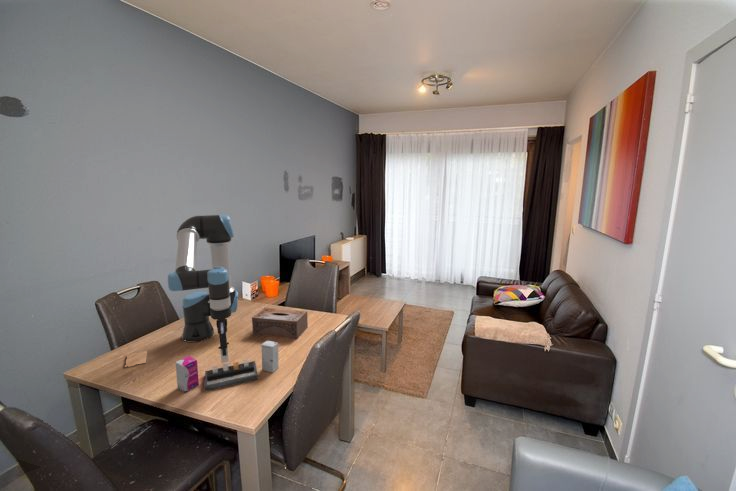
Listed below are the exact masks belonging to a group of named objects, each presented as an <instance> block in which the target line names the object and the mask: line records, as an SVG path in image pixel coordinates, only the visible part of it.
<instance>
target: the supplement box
mask: <svg viewBox="0 0 736 491" xmlns="http://www.w3.org/2000/svg"><path fill="white" fill-rule="evenodd" d="M175 373H176V384H177V385H176V386H177V389H178V388H179V390H180V389H181V390H180V391H182V390H183V391H184V392H183V391H182V392H183V393H187V392H189V391H190V389H191V390H193V389H195V388H196V386H197V387H199V386H198V385H200V380H199V370H198V360H197V359H195V358H193V357H192V356H190V355H188V356H186V357H184V358H181V359H179V360H177V361H175ZM194 387H195V388H194ZM192 388H193V389H192ZM188 390H189V391H188ZM186 391H187V392H186Z"/></svg>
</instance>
